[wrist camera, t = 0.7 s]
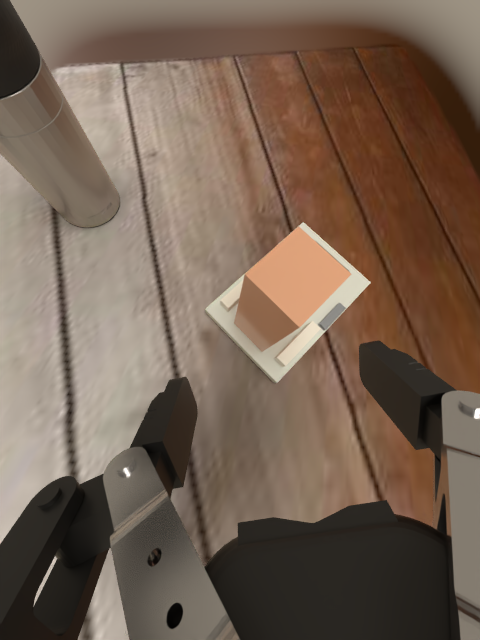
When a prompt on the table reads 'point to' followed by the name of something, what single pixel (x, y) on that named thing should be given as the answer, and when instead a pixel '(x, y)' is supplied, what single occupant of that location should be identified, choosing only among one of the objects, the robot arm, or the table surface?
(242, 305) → the block
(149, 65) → the table surface
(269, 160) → the table surface
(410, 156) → the table surface
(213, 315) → the white stand base
